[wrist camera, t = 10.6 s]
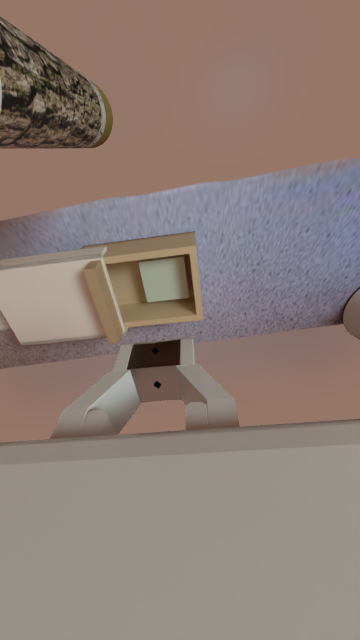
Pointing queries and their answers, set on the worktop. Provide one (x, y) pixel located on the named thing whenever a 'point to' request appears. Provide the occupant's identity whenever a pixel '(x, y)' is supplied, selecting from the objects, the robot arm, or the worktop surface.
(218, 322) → the worktop surface
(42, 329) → the lid
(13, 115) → the bark textured cylinder
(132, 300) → the tan open box
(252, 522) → the robot arm
